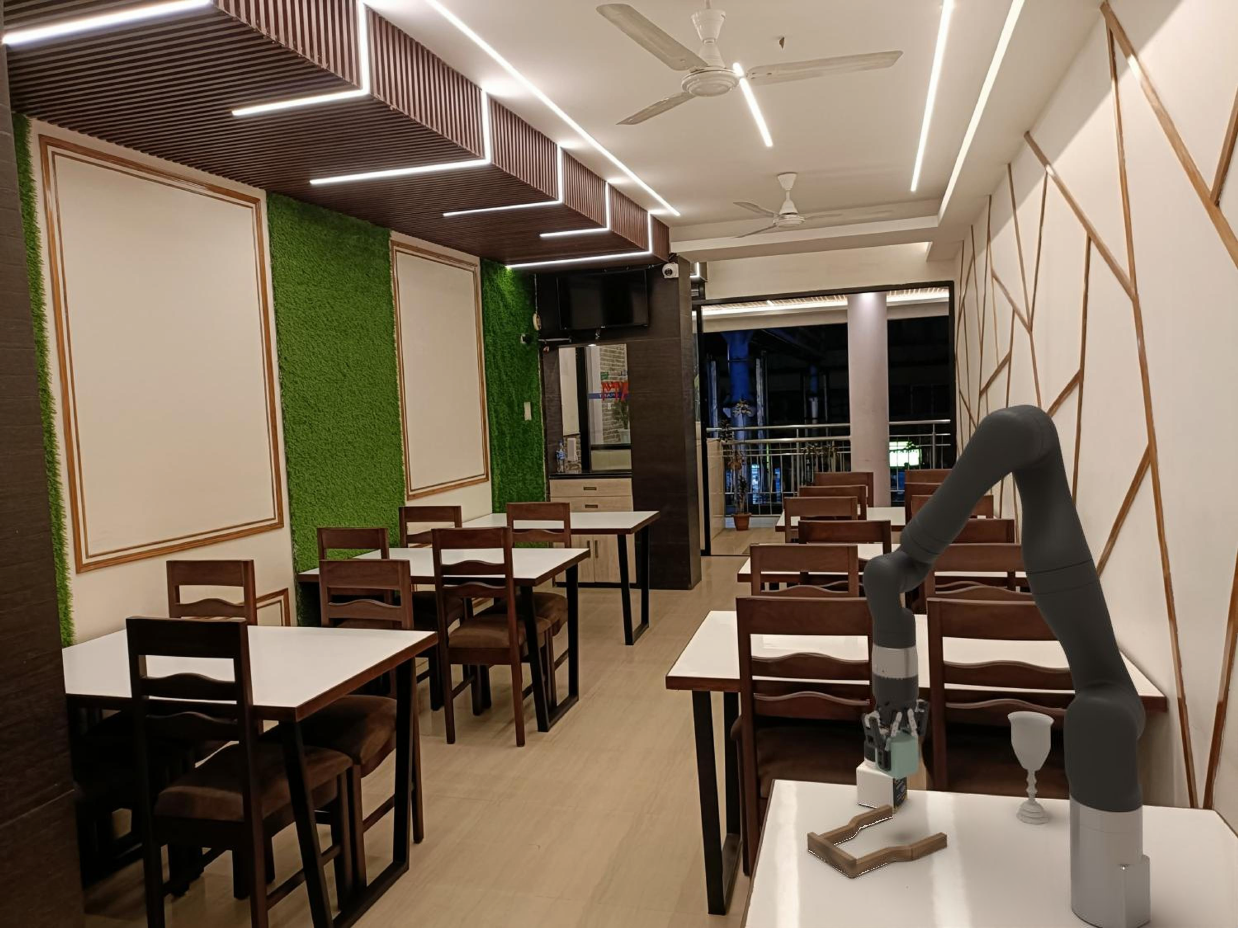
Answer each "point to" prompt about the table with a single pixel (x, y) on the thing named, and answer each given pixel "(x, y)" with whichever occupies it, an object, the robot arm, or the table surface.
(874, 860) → the keyhole rail
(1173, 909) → the table surface
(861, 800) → the medicine bottle
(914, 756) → the teal block
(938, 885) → the table surface
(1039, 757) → the chalice
